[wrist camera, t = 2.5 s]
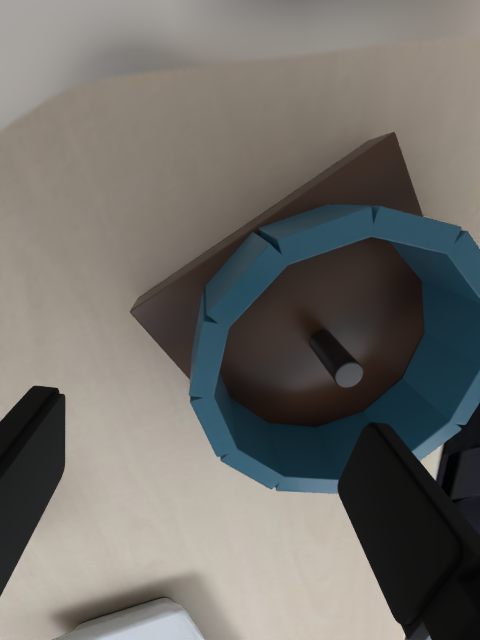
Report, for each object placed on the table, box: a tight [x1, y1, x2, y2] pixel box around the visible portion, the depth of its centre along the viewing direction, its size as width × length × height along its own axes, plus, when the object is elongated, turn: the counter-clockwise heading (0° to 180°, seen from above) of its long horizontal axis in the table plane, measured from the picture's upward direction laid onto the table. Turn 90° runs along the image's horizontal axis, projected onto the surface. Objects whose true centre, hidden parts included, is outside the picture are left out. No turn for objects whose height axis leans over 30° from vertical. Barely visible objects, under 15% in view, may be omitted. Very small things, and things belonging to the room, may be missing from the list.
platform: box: [130, 132, 425, 427], centre depth 18 cm, size 17×17×6 cm
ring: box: [189, 204, 480, 494], centre depth 17 cm, size 17×17×4 cm
